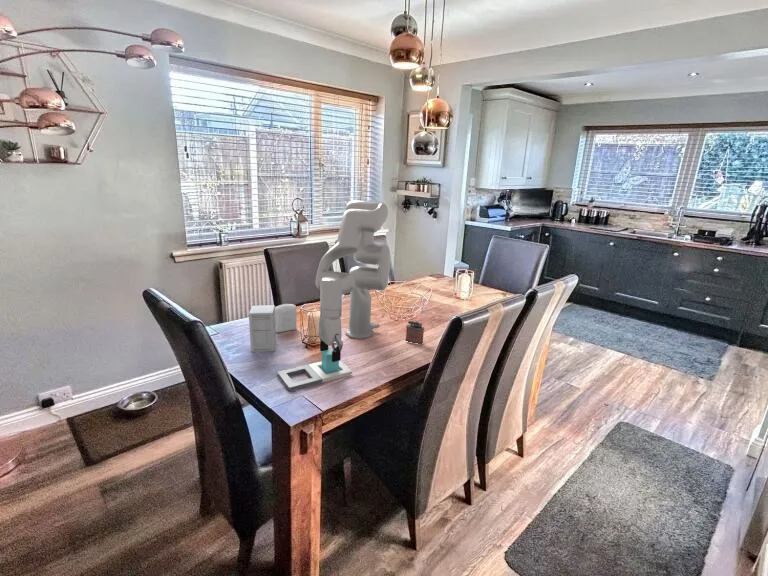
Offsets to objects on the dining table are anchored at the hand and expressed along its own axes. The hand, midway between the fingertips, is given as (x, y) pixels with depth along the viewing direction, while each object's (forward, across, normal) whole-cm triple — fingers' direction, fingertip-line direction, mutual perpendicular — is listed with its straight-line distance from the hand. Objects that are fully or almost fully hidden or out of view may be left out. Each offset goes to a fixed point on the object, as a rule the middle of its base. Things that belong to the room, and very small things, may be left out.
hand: (330, 355), depth 145 cm
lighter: (+6, -6, +44) cm, 45 cm away
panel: (+7, 0, -6) cm, 9 cm away
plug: (+7, 0, 0) cm, 7 cm away
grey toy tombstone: (+6, -44, -1) cm, 45 cm away
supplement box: (+7, -31, -15) cm, 35 cm away
